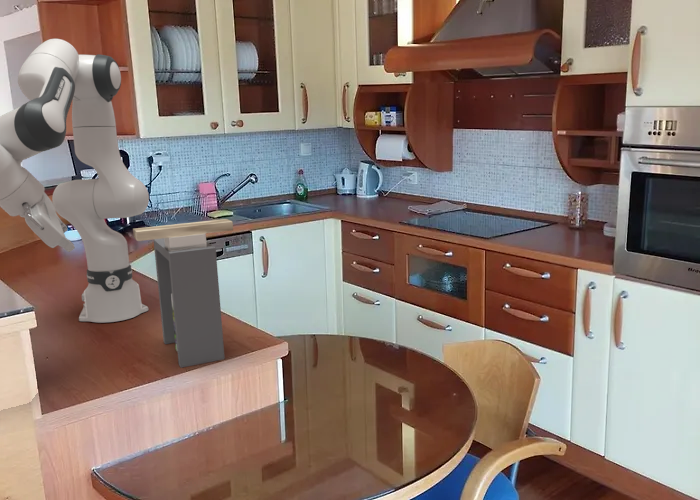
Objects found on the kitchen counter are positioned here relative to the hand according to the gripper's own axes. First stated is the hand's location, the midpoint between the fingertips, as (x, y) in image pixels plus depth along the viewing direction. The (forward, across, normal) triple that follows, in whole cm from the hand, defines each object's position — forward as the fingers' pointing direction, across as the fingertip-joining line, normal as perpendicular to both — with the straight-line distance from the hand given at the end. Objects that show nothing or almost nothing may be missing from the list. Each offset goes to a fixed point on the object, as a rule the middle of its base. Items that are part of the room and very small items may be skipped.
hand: (68, 239), depth 145 cm
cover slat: (+12, -8, -20) cm, 25 cm away
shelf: (+36, -12, -4) cm, 38 cm away
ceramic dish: (+14, -9, -18) cm, 25 cm away
